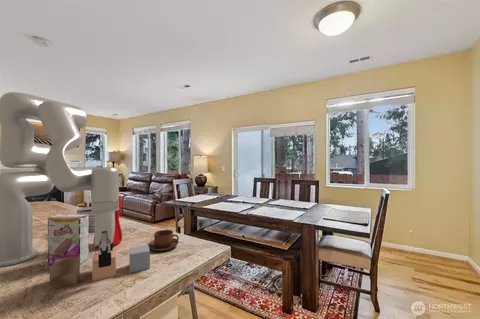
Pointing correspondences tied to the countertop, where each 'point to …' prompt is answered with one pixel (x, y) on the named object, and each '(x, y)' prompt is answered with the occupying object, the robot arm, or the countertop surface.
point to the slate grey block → (139, 258)
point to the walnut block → (64, 272)
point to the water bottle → (117, 225)
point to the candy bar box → (68, 237)
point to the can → (91, 217)
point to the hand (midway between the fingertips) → (106, 259)
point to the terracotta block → (104, 271)
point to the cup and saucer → (163, 240)
